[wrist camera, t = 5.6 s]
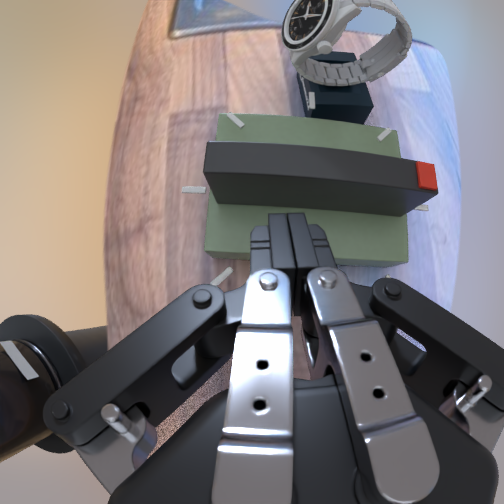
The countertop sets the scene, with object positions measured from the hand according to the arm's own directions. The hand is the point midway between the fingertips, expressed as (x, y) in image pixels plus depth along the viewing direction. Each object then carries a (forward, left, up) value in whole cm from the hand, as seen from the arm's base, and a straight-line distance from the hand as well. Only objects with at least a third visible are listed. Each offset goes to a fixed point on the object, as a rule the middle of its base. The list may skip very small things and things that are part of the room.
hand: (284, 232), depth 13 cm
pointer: (+2, +3, -4) cm, 5 cm away
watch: (+4, +13, -7) cm, 15 cm away
